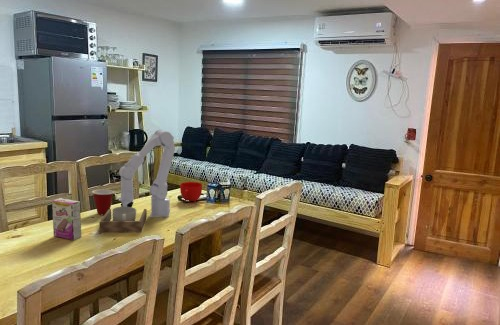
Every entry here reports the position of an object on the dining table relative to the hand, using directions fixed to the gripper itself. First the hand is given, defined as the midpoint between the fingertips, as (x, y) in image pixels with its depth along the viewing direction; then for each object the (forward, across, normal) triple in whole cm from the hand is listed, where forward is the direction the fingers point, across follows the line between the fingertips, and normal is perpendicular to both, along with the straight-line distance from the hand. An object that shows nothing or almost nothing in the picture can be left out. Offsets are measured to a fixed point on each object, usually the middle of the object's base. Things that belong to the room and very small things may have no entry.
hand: (127, 216), depth 195 cm
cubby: (+1, +8, 0) cm, 8 cm away
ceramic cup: (+2, -31, +31) cm, 44 cm away
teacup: (+2, +10, 0) cm, 10 cm away
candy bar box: (+2, +23, -22) cm, 31 cm away
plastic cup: (+2, -10, -14) cm, 17 cm away
